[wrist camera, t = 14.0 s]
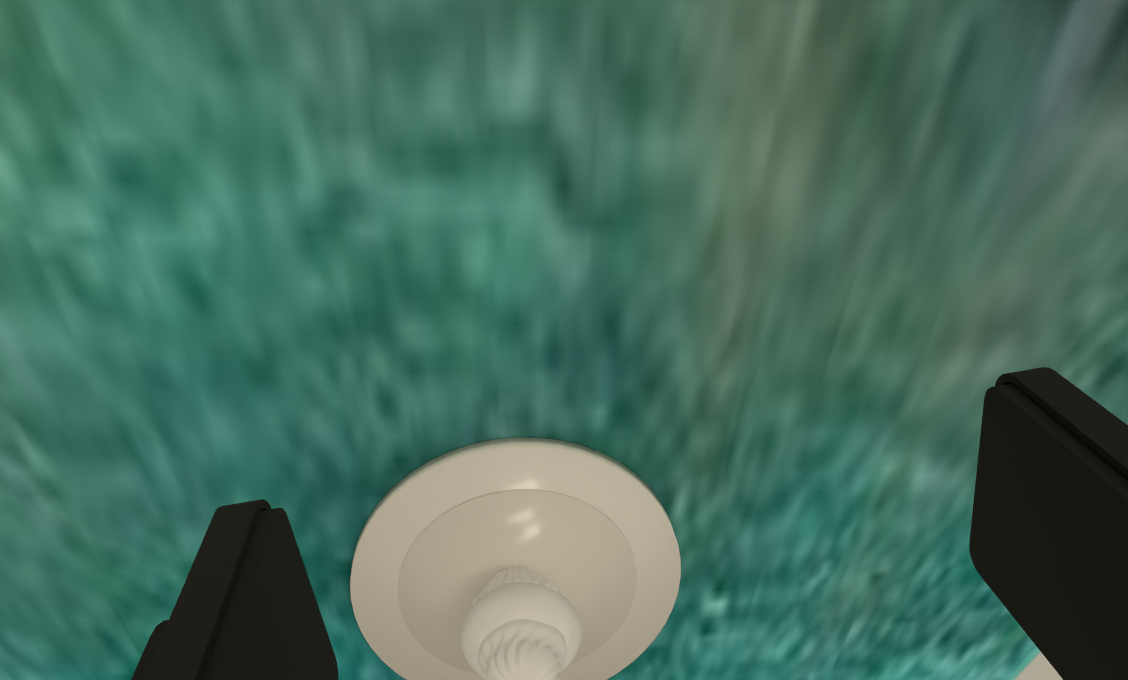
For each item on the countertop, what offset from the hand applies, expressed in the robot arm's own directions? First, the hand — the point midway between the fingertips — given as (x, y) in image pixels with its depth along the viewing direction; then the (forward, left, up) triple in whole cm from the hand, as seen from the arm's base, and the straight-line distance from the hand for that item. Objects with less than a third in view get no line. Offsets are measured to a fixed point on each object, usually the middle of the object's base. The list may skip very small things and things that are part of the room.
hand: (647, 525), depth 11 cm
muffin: (+4, +25, -27) cm, 37 cm away
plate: (+4, +25, -28) cm, 38 cm away
